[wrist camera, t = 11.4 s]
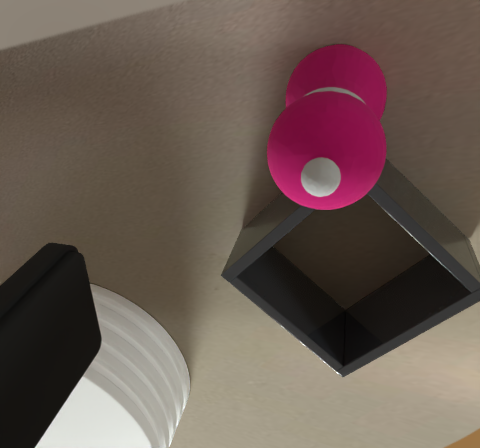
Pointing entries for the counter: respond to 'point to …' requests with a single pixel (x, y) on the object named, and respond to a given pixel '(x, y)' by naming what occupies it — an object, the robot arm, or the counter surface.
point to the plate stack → (124, 384)
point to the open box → (374, 305)
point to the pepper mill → (330, 129)
